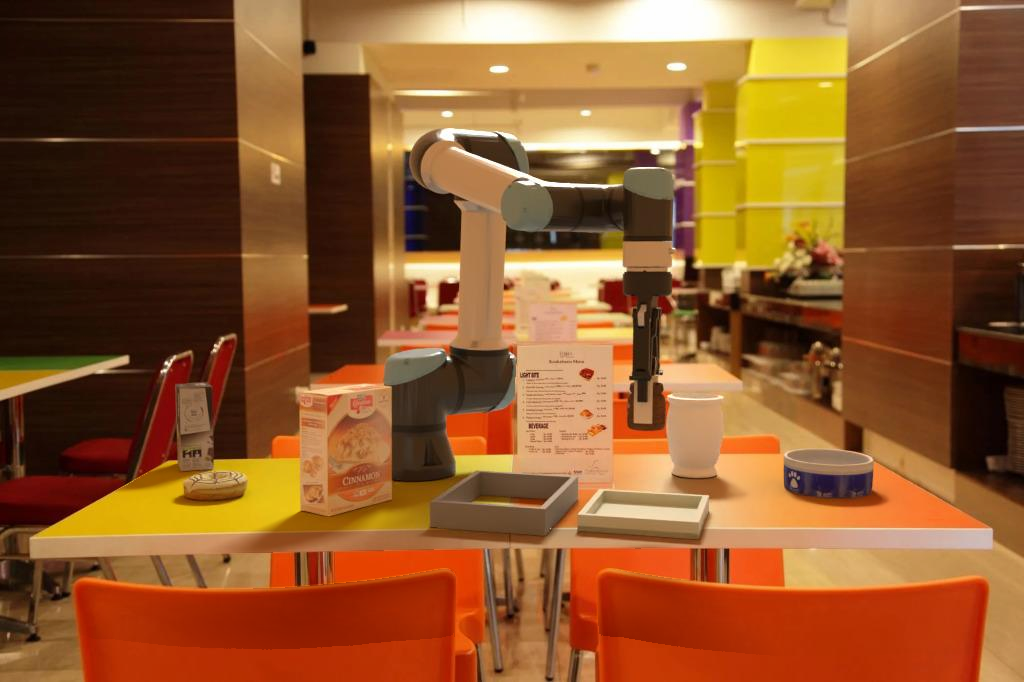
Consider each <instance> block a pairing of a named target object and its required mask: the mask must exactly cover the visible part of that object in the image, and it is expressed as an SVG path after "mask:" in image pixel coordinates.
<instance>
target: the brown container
mask: <svg viewBox="0 0 1024 682" xmlns="http://www.w3.org/2000/svg"><path fill="white" fill-rule="evenodd" d="M656 358H657V357H656ZM656 358H655V360H656ZM652 359H653V358H652ZM657 359H658V358H657ZM658 360H659V359H658ZM659 362H660V363H661V360H660V361H659ZM655 367H657V361H656V364H655ZM660 370H661V367H660V368H659V371H660ZM659 374H660V372H659ZM654 376H658V378H657V380H658V382H657V380H656V382H653V396H652V424H642V423H634V381H633V382H631V383H630V384H629V392H630V393H629V395H628V396H627V400H626V401H627V402H626V423H627V428H629V429H630V430H633V431H638V432H639V431H640V432H654V431H662V430H664V428H666V419H667V416H666V414H667V413H666V412H667V411H666V410H667V409H666V406H667V405H666V397H665V395H664V394H663V393H664V392H665V391H664V384H663V383H661V382H659V376H660V375H656V374H654ZM654 380H655V379H653V381H654Z"/></svg>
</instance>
